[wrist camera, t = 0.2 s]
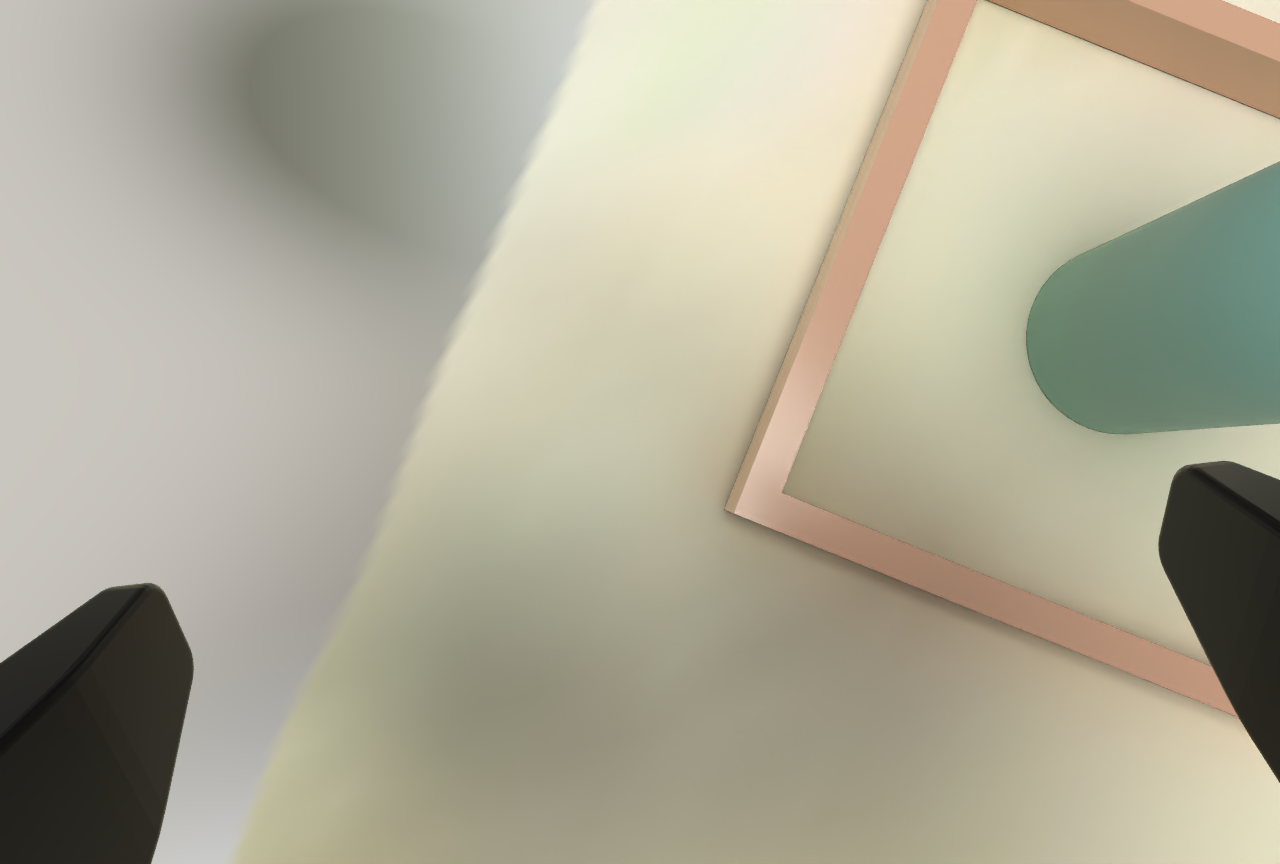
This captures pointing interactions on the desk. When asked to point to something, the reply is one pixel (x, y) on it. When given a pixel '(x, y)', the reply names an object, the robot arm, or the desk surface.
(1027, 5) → the pink square frame
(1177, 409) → the canister
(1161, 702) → the desk surface
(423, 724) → the desk surface
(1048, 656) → the desk surface
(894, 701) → the desk surface
